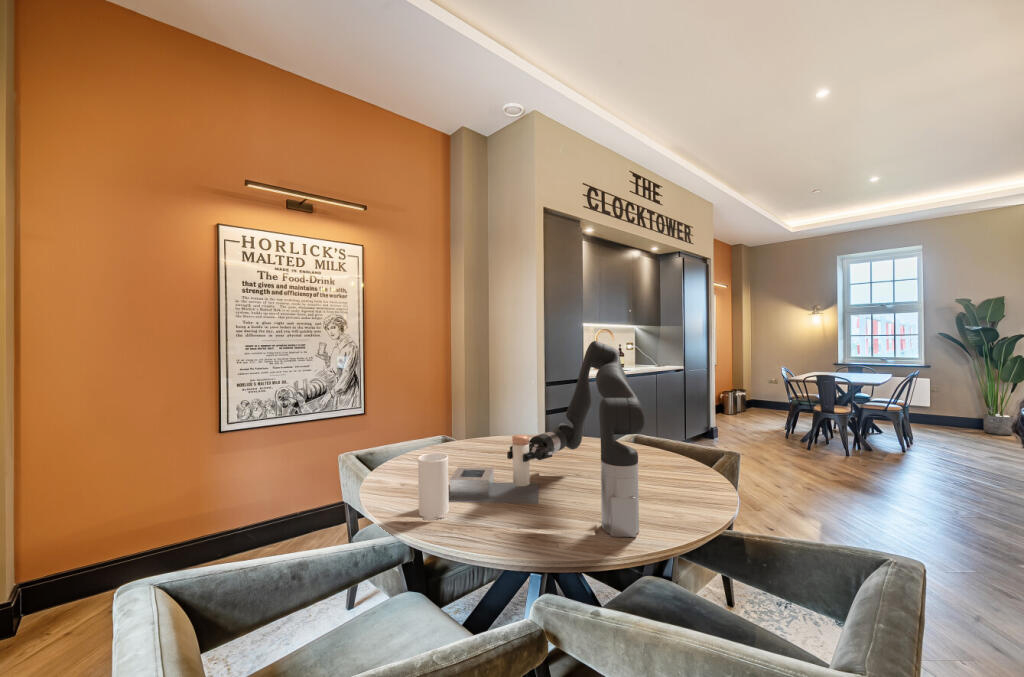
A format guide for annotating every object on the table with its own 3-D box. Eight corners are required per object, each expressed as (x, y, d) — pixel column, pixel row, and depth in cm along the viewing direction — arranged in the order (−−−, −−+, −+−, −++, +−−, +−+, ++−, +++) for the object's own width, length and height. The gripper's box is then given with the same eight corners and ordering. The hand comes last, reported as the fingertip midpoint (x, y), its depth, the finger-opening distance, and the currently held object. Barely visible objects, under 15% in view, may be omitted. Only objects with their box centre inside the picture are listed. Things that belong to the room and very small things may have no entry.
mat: (538, 507, 117) (538, 503, 117) (443, 505, 119) (443, 501, 119) (538, 486, 134) (538, 483, 134) (455, 484, 136) (455, 481, 136)
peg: (529, 486, 119) (528, 438, 119) (512, 486, 119) (511, 438, 119) (529, 480, 124) (528, 434, 124) (513, 480, 124) (512, 434, 124)
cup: (445, 506, 118) (444, 451, 118) (451, 517, 111) (451, 459, 111) (416, 511, 115) (416, 454, 115) (421, 523, 108) (420, 462, 108)
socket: (488, 496, 123) (488, 480, 123) (449, 495, 124) (449, 479, 124) (493, 482, 135) (493, 467, 135) (458, 482, 136) (458, 467, 136)
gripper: (526, 431, 138) (496, 441, 124) (564, 436, 130) (536, 447, 116) (526, 453, 138) (496, 466, 124) (564, 459, 129) (537, 473, 115)
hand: (516, 456), depth 120 cm, fingers closed on peg, 5 cm apart
